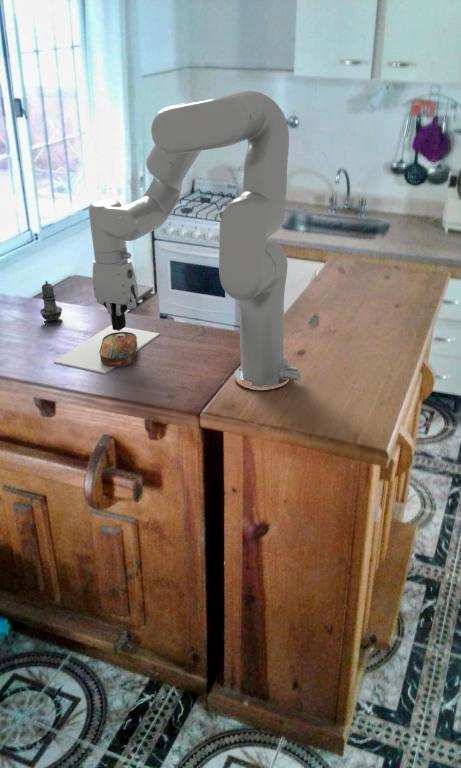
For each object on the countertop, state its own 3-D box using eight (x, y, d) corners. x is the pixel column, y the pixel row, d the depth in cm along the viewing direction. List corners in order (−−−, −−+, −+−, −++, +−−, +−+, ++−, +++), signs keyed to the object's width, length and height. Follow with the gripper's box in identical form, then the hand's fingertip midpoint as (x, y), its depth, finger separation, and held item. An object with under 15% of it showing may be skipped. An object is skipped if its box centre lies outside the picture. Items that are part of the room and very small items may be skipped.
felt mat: (159, 334, 183) (159, 333, 183) (105, 373, 164) (105, 372, 164) (111, 326, 189) (111, 324, 189) (53, 362, 170) (53, 361, 170)
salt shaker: (67, 323, 192) (61, 281, 186) (46, 328, 189) (39, 286, 183) (58, 316, 196) (52, 275, 191) (38, 321, 193) (31, 280, 188)
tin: (133, 357, 165) (96, 356, 164) (133, 369, 166) (97, 368, 166) (138, 330, 178) (104, 330, 178) (138, 342, 179) (105, 341, 179)
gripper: (147, 254, 164) (153, 327, 172) (94, 247, 170) (103, 318, 178) (128, 263, 158) (136, 339, 166) (74, 256, 164) (85, 329, 172)
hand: (119, 328), depth 172 cm, fingers closed
